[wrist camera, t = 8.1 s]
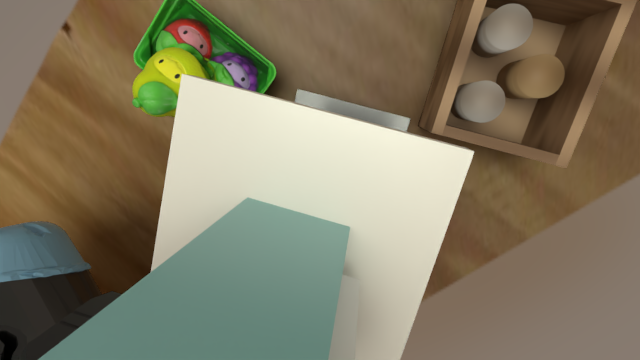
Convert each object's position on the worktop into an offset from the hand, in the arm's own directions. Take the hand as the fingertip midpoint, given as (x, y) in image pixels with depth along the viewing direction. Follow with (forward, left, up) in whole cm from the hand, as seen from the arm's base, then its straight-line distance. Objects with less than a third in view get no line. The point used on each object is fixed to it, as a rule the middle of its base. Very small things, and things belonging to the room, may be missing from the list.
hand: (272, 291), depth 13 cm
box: (+12, -11, -25) cm, 30 cm away
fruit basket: (+6, +14, -26) cm, 30 cm away
